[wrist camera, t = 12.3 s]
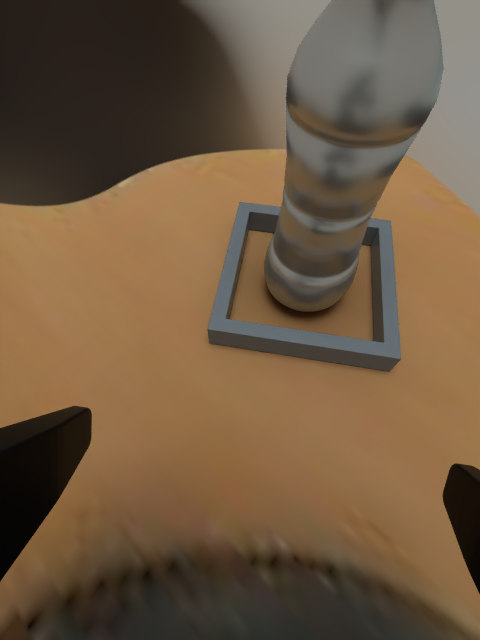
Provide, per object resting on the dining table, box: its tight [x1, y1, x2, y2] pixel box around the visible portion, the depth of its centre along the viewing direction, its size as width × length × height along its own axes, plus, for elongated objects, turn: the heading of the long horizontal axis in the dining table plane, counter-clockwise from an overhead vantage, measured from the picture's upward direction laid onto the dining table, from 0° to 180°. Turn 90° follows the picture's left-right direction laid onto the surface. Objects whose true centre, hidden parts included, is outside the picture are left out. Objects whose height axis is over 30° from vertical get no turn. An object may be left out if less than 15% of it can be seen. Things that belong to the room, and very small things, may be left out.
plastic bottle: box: [264, 0, 443, 312], centre depth 19 cm, size 6×7×20 cm
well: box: [208, 202, 401, 371], centre depth 27 cm, size 12×12×2 cm
